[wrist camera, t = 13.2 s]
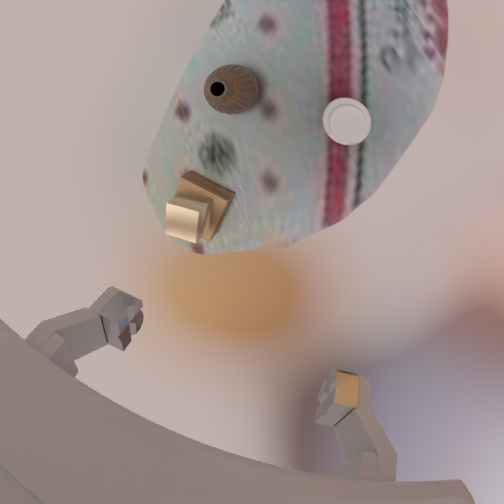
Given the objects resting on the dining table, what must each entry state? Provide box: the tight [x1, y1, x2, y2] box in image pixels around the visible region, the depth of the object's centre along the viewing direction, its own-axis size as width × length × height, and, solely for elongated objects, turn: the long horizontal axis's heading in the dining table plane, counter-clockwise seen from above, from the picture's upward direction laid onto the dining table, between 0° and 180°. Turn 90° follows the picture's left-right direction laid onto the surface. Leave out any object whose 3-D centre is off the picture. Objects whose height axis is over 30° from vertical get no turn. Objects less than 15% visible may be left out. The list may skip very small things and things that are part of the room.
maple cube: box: [165, 191, 213, 243], centre depth 42 cm, size 5×5×5 cm
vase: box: [204, 65, 259, 114], centre depth 33 cm, size 7×7×9 cm
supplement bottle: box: [323, 98, 371, 145], centre depth 31 cm, size 6×6×10 cm
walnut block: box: [175, 171, 235, 242], centre depth 46 cm, size 8×8×4 cm
